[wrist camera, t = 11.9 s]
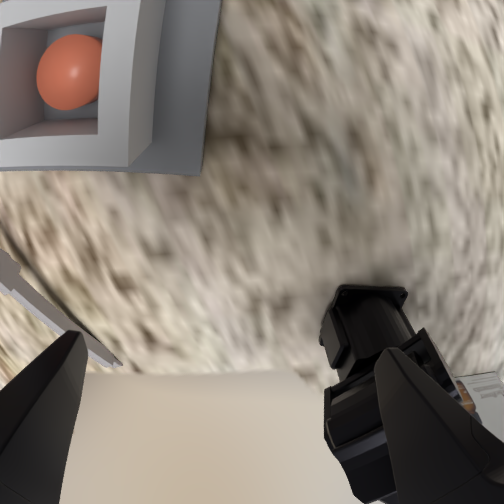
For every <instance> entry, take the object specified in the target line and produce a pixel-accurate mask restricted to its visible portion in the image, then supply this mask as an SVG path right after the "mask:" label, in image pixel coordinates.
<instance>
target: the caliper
mask: <svg viewBox="0 0 504 504" xmlns="http://www.w3.org/2000/svg"><path fill="white" fill-rule="evenodd" d="M20 269H21V266H20V264H19V263H17V262H15V261H14V260H13V259H12V258H11V256H10V255H9V254H8V253H7V252H5V251H4V250H2V249H0V292H2V293H3V294H4V295H7V294H8V293H9V294H10V295H11V296H12V297H14V298H15V299H16V300H17V301H18V302H19V303H20V304H22V305H23V306H24V307H25V308H26V309H27V310H29V311H30V312H31V313H32V314H33V315H35V316H36V317H37V318H38V319H39V320H41V321H42V322H43V323H44V324H46V325H47V326H48V327H49V328H51V329H52V330H53V331H55V332H56V333H57V334H59V335H60V336H61V335H62V334H64V333H65V332H66V331H67V330H70V329H71V330H77V331H81V332H82V333H83V336H84V339H85V342H86V346H87V349H88V356H89V357H91V358H92V359H93V360H95V361H96V362H98V363H99V364H101V365H102V366H104V367H110V366H111V367H113V368H116V367H120V366H123V364H122V363H121V362H120V361H118V360H117V359H115V358H114V355H113V354H112V353H111V352H110V351H109V350H108V349H107V348H106V347H105V346H104V345H103V344H101V343H100V342H99V341H97V340H96V339H95V338H93V337H92V336H91V335H89V334H88V333H87V332H85V331H84V330H83V329H81V328H80V327H79V326H78V325H76V324H75V323H74V322H73V321H71V320H70V319H69V318H68V317H66V316H65V315H64V314H63V313H61V312H60V311H59V310H58V309H57V308H56V307H54V306H53V305H52V304H51V303H50V302H49V301H47V300H46V299H45V298H44V297H43V296H42V295H41V294H40V293H38V292H37V291H36V290H35V289H34V288H33V287H32V286H31V285H30V284H29V283H28V282H27V281H25V280H24V279H23V278H22V277H21V276H20V275H19V272H20Z"/></svg>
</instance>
